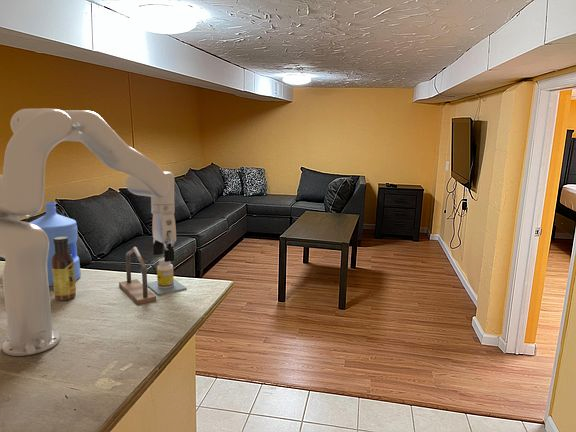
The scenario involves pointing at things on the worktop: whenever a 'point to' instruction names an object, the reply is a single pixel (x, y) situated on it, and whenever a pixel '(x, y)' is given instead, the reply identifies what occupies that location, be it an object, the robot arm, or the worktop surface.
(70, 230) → the water jug
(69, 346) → the worktop surface
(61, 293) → the sauce bottle
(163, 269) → the supplement bottle
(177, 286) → the mat
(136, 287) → the wire arch
